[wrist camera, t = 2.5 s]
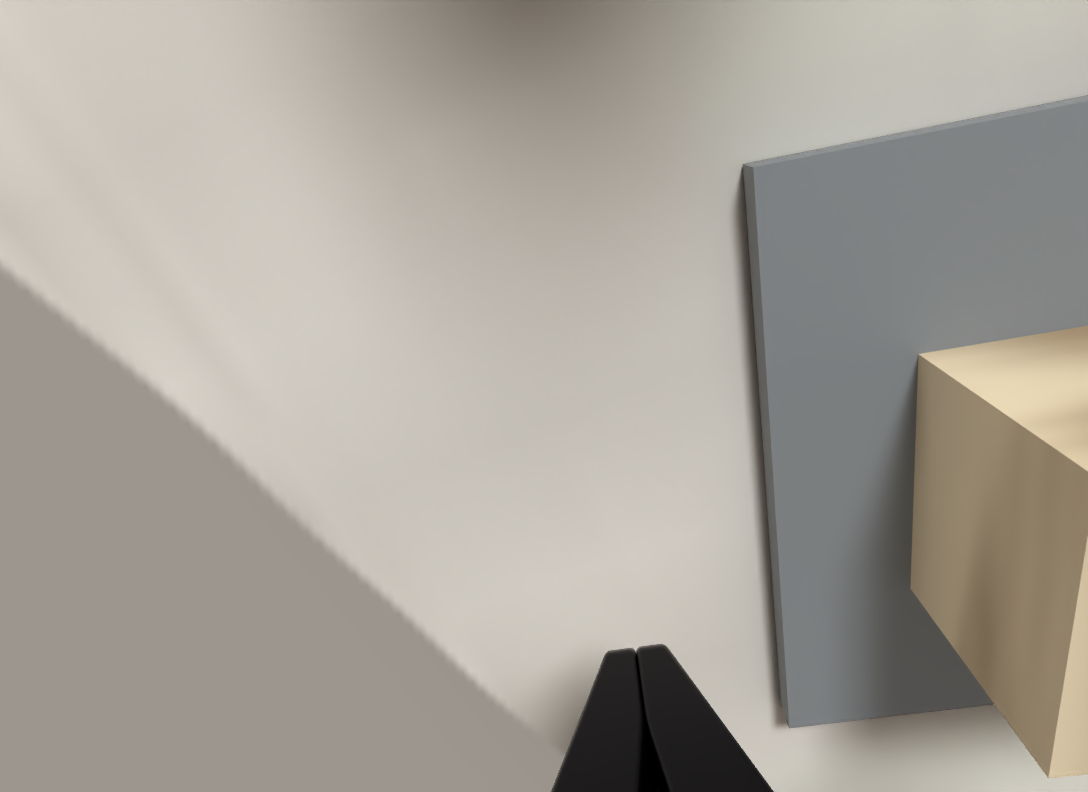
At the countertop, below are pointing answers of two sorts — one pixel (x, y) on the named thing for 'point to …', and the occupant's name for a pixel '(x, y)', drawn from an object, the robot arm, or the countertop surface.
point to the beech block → (1010, 528)
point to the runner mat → (891, 371)
